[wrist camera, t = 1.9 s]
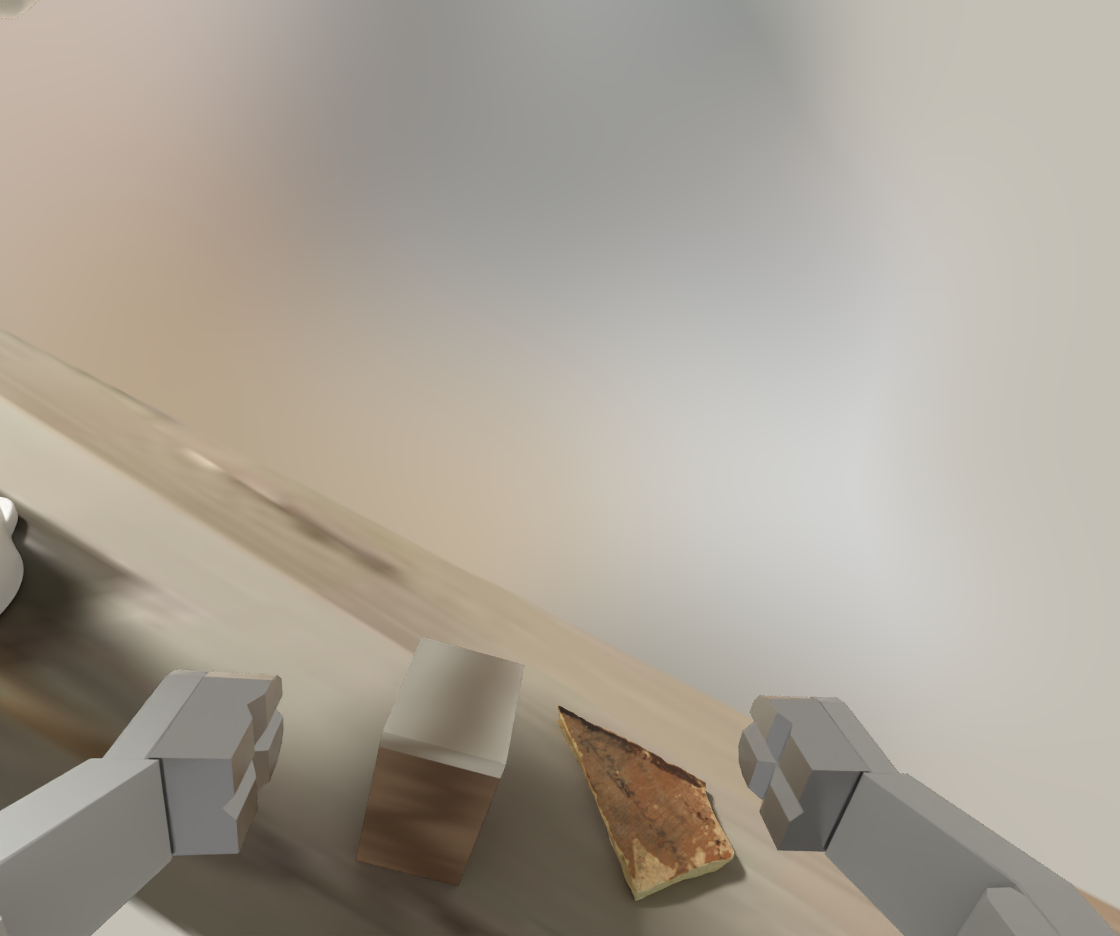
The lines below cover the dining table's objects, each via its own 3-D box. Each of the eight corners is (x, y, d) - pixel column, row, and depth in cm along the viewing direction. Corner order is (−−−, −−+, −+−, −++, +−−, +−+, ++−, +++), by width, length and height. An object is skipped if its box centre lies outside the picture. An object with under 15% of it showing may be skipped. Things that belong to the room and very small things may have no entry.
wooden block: (355, 860, 26) (382, 731, 21) (393, 761, 31) (422, 636, 26) (457, 885, 26) (506, 764, 22) (480, 784, 31) (524, 665, 26)
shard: (551, 719, 36) (559, 702, 35) (646, 702, 40) (655, 686, 39) (625, 910, 28) (637, 893, 27) (737, 867, 31) (751, 851, 31)
